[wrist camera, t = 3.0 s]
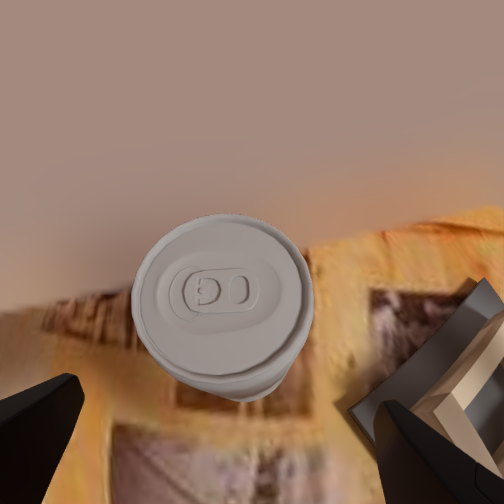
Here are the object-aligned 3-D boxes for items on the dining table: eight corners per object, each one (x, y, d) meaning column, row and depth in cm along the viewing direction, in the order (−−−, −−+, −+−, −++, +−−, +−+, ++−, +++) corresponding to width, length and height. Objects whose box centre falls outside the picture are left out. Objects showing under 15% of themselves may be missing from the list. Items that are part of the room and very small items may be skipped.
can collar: (444, 540, 9) (477, 556, 5) (347, 410, 16) (372, 408, 12) (550, 403, 13) (584, 393, 9) (478, 282, 19) (508, 255, 15)
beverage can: (206, 329, 19) (138, 216, 8) (282, 325, 19) (304, 203, 8) (207, 403, 16) (118, 385, 6) (288, 400, 16) (330, 382, 6)
